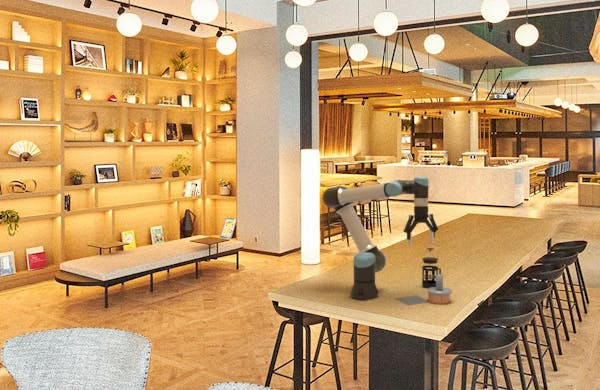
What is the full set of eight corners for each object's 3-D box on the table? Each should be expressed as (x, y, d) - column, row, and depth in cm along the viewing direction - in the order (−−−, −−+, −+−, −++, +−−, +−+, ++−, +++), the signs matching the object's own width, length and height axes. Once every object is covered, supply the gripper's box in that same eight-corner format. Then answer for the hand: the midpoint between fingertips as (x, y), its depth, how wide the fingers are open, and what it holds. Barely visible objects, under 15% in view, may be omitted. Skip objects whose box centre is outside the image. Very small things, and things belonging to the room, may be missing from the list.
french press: (417, 287, 323) (417, 248, 321) (425, 284, 331) (425, 246, 329) (436, 290, 316) (437, 250, 314) (443, 287, 323) (444, 248, 321)
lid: (422, 290, 297) (422, 273, 296) (442, 287, 301) (442, 271, 300) (436, 296, 285) (436, 278, 284) (456, 293, 290) (456, 276, 289)
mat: (393, 299, 300) (393, 298, 300) (416, 296, 305) (416, 295, 305) (407, 306, 287) (407, 305, 287) (431, 302, 292) (431, 302, 292)
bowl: (425, 300, 297) (425, 290, 296) (441, 298, 300) (441, 288, 300) (436, 305, 287) (436, 295, 287) (453, 303, 291) (453, 293, 290)
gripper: (404, 207, 292) (404, 247, 294) (444, 205, 301) (444, 244, 303) (397, 206, 299) (397, 245, 301) (436, 203, 308) (436, 241, 310)
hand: (420, 244), depth 302 cm, fingers open, 13 cm apart
